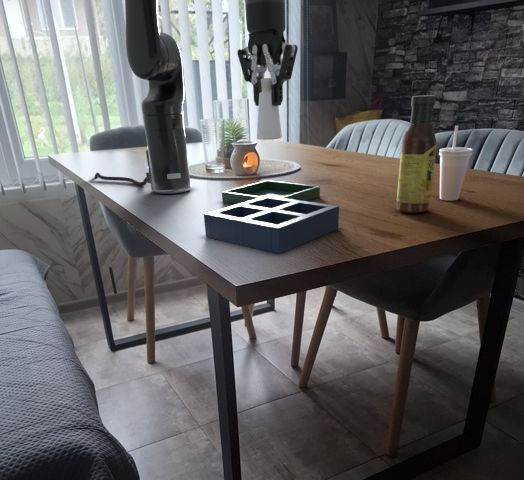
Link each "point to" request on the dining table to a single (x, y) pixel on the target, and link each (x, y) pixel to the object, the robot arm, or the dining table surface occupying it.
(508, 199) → the dining table surface
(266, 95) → the pepper shaker
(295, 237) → the rack
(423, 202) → the sauce bottle
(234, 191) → the tray
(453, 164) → the smoothie
